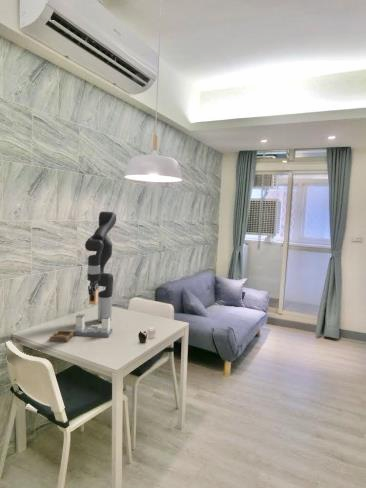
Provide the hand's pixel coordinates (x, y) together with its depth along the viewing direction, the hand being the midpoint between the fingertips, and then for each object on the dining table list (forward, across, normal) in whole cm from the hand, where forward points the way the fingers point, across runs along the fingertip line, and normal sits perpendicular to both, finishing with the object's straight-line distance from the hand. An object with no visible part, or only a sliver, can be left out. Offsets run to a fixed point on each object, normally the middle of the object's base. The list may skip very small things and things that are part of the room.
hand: (93, 299), depth 197 cm
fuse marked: (+2, 0, 0) cm, 2 cm away
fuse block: (+21, 0, 0) cm, 21 cm away
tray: (+21, +10, -15) cm, 28 cm away
